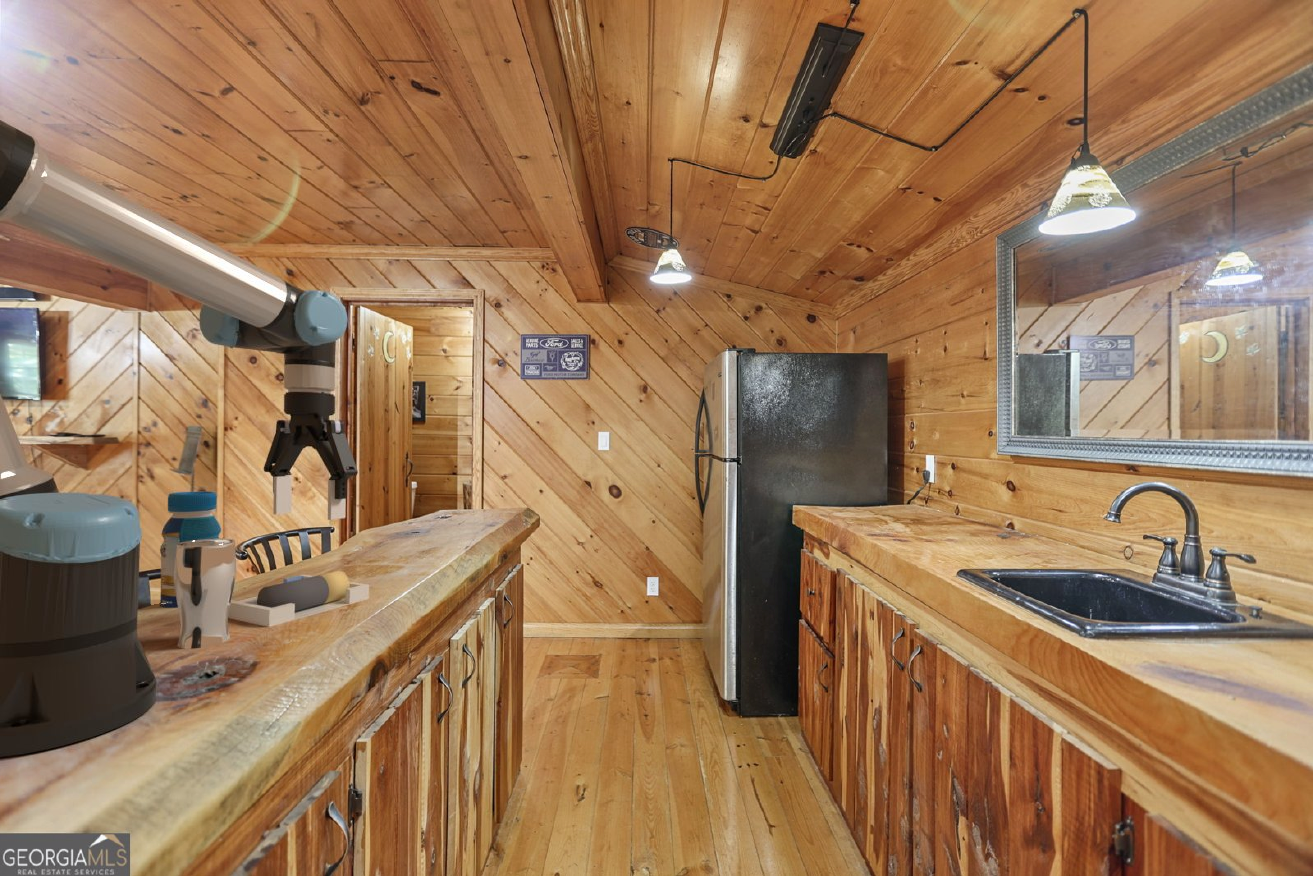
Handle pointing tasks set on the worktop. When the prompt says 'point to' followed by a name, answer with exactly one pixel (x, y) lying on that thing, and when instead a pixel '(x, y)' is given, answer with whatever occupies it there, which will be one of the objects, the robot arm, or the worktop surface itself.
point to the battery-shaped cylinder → (305, 591)
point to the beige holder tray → (291, 606)
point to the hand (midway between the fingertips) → (308, 516)
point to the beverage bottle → (185, 533)
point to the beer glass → (204, 590)
